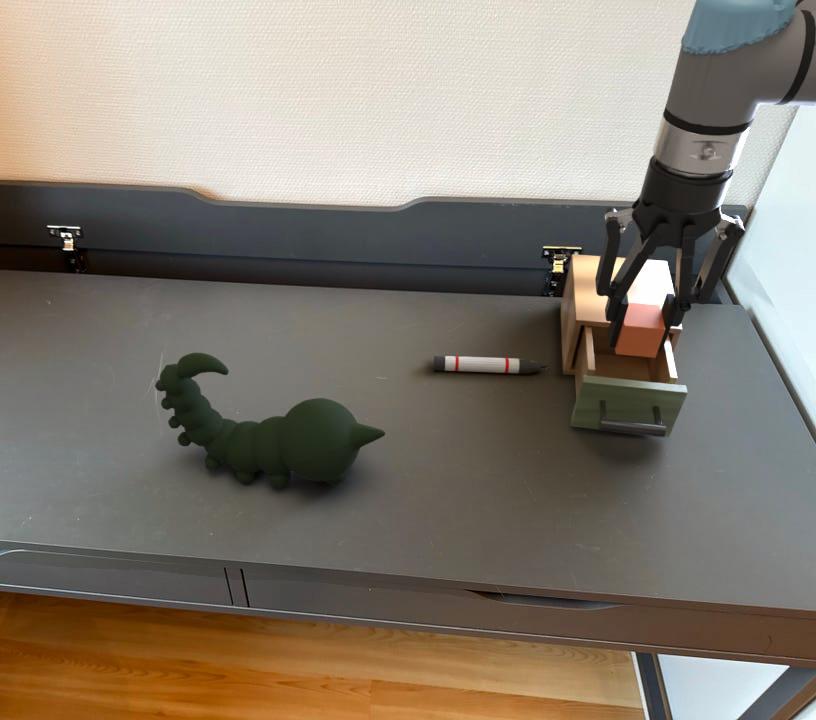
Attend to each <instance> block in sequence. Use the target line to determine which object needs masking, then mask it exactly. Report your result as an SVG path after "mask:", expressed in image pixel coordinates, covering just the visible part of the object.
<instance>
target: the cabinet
mask: <svg viewBox="0 0 816 720" xmlns="http://www.w3.org/2000/svg"><path fill="white" fill-rule="evenodd" d="M600 256H601V255H589V254H576V253H572V254H571V257H570V261H569V266H568V270H567V276H566V279H565V284H564V289H563V293H562V299H561V304H560V326H561V328H560V329H561V331H560V332H561V353H562V357H561V358H562V374H563V375H568V376H575V366H574V353H575V349H576V345H577V341H578V337H579V333H580V328H581V325H586V326H597V327H609V325H610V322H611V321H606V317H605V307H606V304H607V300H608V297H607V296H599V295H597V292H596V281H595V278H596V274H597V269H598V265H599V261H600ZM625 259H626V257H618V256H617V258H616V262H615V266H614V270H613V274H612V278H611V280H612V281H613V279H614V278H615V276H616V274H617V272H618V271H619V269H620V267H621V266H622V264H623V262H624V260H625ZM667 293H671V294H674V296H675V289H674V286H673V282H672V277H671V273H670V269H669V265H668V261H667V260H658V259H657V260H656V259H647V261H646V262H645V264H644V266H643V267H642V269H641V271H640V272H639V274H638V276H637V277H636V279H635V281H634V282H633V284H632V285H631V287H630V289H629V290H628V292H627V295H628V302H629V303H640V304H652V305H661V309H662V306H663V303H664V300H665V297H666V295H667ZM682 331H683V326H682V323H681V324H680V325H679V326H678V327H671V328H670V330H669V333H668V334H669V339H670V344H671V349H672V354H673V355H674V353H675V350H676V348H677V345H678V342H679V340H680V337H681V334H682Z"/></svg>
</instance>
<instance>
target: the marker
mask: <svg viewBox="0 0 816 720" xmlns="http://www.w3.org/2000/svg"><path fill="white" fill-rule="evenodd" d="M548 367H549V365H543V364H542V362H539V361H532V360H531V359H528V358H511V357H510V358H509V357H487V356H486V357H483V356H460V355H459V356H455V355H434V356H433V370H434V371H446V372H447V371H448V372H472V373H475V372H476V373H499V374H530V373H532V372H541V370H547V369H548Z"/></svg>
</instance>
